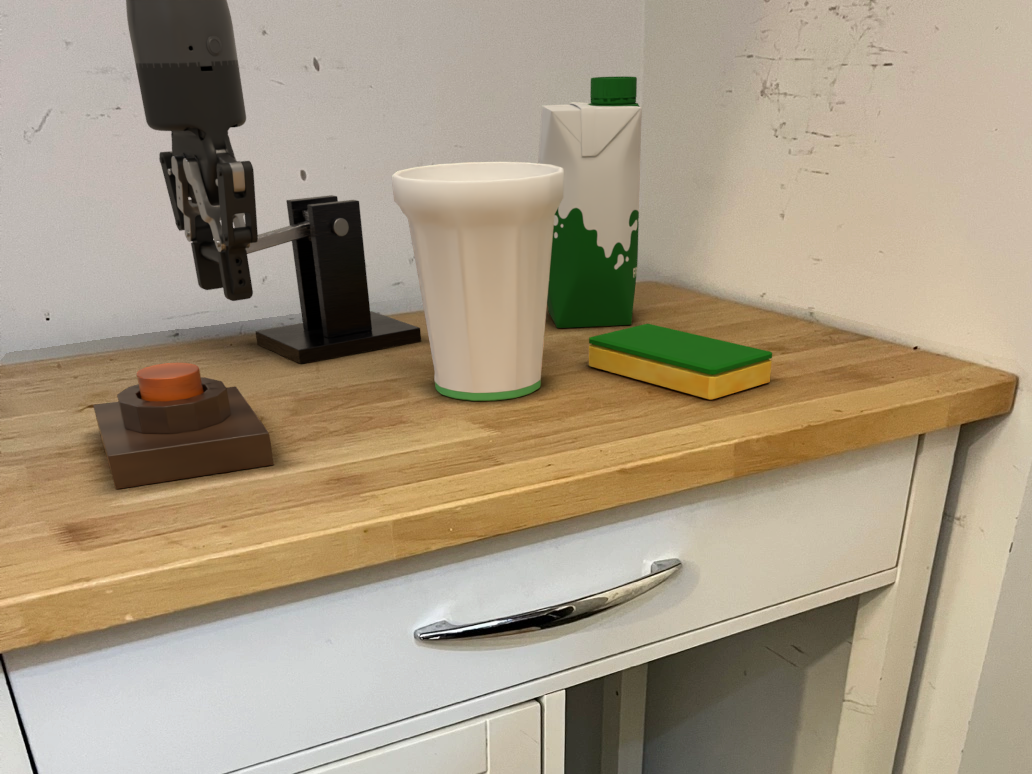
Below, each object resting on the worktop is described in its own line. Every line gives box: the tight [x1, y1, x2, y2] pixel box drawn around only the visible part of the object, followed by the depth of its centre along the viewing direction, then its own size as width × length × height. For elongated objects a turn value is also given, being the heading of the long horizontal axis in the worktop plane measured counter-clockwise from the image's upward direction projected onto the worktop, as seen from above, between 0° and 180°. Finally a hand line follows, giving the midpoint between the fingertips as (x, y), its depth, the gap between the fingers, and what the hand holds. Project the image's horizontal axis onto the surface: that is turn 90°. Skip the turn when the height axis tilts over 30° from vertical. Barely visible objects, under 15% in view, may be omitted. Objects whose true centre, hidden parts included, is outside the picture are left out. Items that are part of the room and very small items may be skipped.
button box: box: [93, 376, 275, 490], centre depth 74 cm, size 12×10×4 cm
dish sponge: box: [588, 323, 773, 401], centre depth 87 cm, size 7×14×2 cm, turn 40°
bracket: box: [254, 194, 422, 365], centre depth 96 cm, size 12×9×12 cm
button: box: [136, 362, 204, 401], centre depth 72 cm, size 4×4×2 cm
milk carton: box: [537, 76, 643, 329], centre depth 100 cm, size 9×9×20 cm
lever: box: [199, 210, 312, 264], centre depth 92 cm, size 12×5×2 cm, turn 126°
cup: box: [391, 161, 564, 402], centre depth 82 cm, size 12×12×15 cm
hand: (226, 292), depth 91 cm, fingers closed on lever, 5 cm apart
